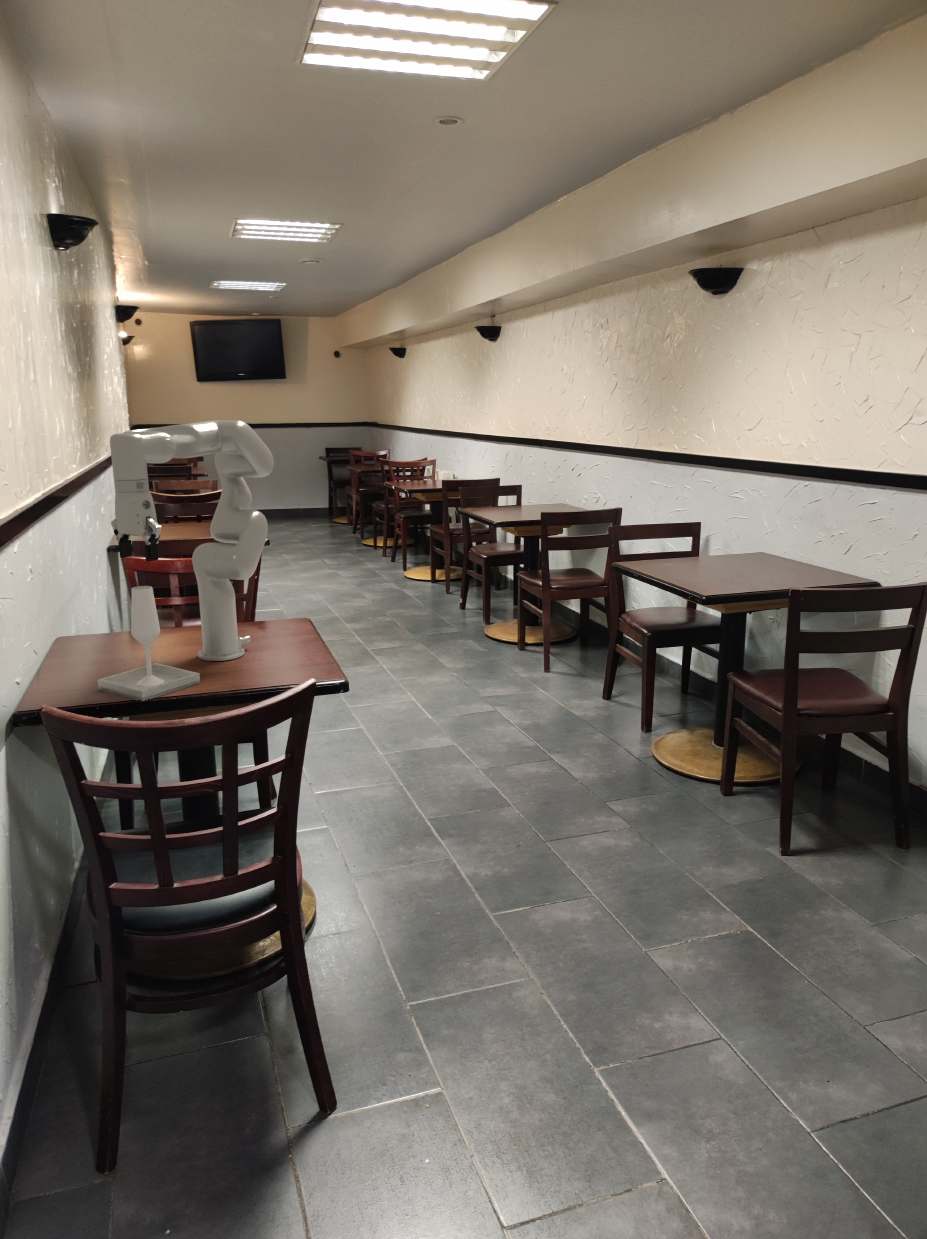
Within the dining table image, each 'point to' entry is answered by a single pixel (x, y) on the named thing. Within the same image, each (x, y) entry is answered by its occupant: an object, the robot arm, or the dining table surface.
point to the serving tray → (172, 682)
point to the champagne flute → (145, 627)
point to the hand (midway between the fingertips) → (139, 558)
